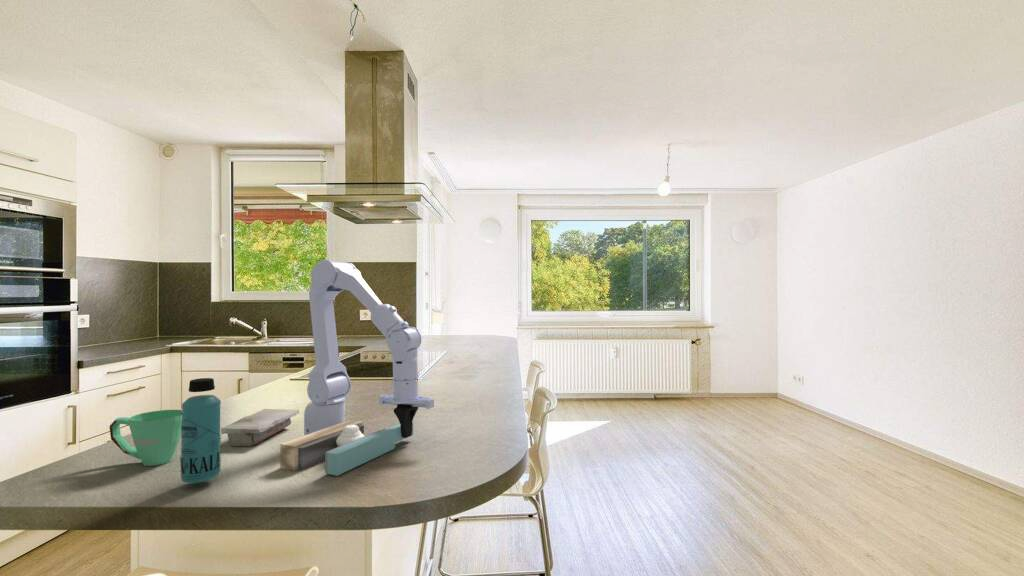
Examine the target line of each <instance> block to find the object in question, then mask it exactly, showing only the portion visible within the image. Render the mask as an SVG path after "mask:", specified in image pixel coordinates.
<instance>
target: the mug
mask: <svg viewBox="0 0 1024 576" xmlns="http://www.w3.org/2000/svg"><path fill="white" fill-rule="evenodd" d="M121 425H126V426H128V427H129V430H130V433H131V437H132V440H133V444H134V447H135V448H134V447H132V446H131V444H129V442H128V441H127V440H126V439H125V438H124V437H123V435H121V427H120V426H121ZM181 426H182V409H163V410H154V411H149V412H143V413H139V414H135V415H132V416H130V417H124V416H123V417H121V416H120V417H117V418H115V419H114V420H113V421H112V422H111V424H109V427H108V428H109V432H110V433H109V434H110V440H111V441H112V442H113V443H114V444H115V445H116V446H117V447H118V448H119V449H120V450H121V451H122V452H123V453H124V454H126V455H128V456H130V457H133V458H135V459H138V460H140V461H141V462H142V464H143V466H146V467H152V466H153V467H154V466H160V465H164V464H167V463H169V462H171V461H172V459H173V457H174V455H175V452H176V450H177V448H178V444H179V441H180V439H181V436H182V435H181V431H182V430H181ZM180 435H181V436H180Z"/></svg>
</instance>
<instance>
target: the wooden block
mask: <svg viewBox="0 0 1024 576" xmlns="http://www.w3.org/2000/svg"><path fill="white" fill-rule="evenodd" d="M363 423H364V422H363V421H361V420H360V421H359V420H352V419H350V420H349V419H348V420H345V422H343V423H340V424H337V425H334V426H331V427H328V428H325V429H322V430H319V431H316V432H313V433H311V434H308V435H305V436H304V435H302V436H299V437H297V438H293V439H291V440H288V441H284V442H282V443H280V444H279V452H280V453H279V454H280V456H279V457H280V458H279V462H280V464H279V465H280V466H279V469H282V470H287V471H290V472H291V471H292V472H296V471H298V470H299V471H305V470H308V469H309V468H312V467H314V466H316V465H319V464H321V463H323V461H324V462H325V452H327V451H330V450H332V449H335V448H337V447H338V445H337V443H336V440H337V438H338V437H339V436H340V435H341V433H342V430H343V428H344V427H345V426H347V425H350V424H351V425H357V426H358V427H359V430H360V431H361V433H362V434H364V435H365V425H363Z"/></svg>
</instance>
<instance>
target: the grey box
mask: <svg viewBox="0 0 1024 576" xmlns="http://www.w3.org/2000/svg"><path fill="white" fill-rule="evenodd" d="M299 414H300V409H299V408H298V409H297V408H295V409H285V408H284V409H280V408H278V409H276V408H275V409H273V408H264V409H261V410H260V411H257V412H254V413H252V414H251V415H247V416H244V417H242V418H240V419H238V420H236V421H234V422H232V423H230V424H228V425H225V426H223V427H220V435H224V434H227V439H228V441H227V443H228V446H232V447H251V446H255V445H257V444H260V443H261V442H262V441H264V440H265V439H267V438H268V439H269V437H271V436H273V435H275V434H276V433H278V432H280V431H282V430H284V429H286V428H287V427H288V426H290V425H291V424H292V420H291V418H292V417H294V416H297V415H299Z"/></svg>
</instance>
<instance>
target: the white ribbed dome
mask: <svg viewBox="0 0 1024 576" xmlns="http://www.w3.org/2000/svg"><path fill="white" fill-rule="evenodd" d="M364 436H366V435H365V433H364V434H362V433H361V431H360V430H359V427H358V426H357V425H351V424H350V425H347V426H345V427H344V428H343V430H342V433H341V435H340V436H339V437H338V438H337V440H336V443H337V445H338V447H340V446H342V445H344V444H347V443H349V442H352V441H354V440H357V439H359V438H362V437H364Z"/></svg>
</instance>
